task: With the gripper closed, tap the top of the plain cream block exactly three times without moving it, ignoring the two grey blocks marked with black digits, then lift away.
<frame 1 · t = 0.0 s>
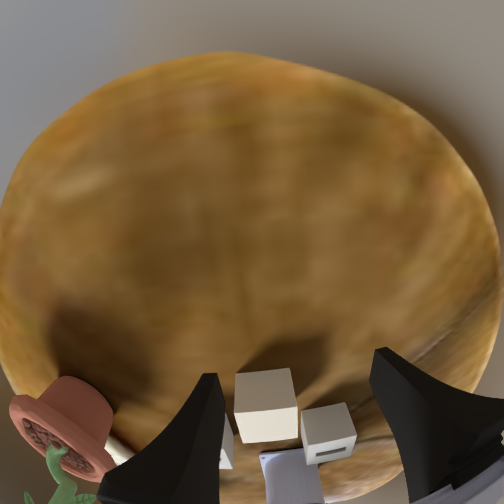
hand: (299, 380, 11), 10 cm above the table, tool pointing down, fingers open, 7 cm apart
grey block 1: (322, 418, 26), on the table
grey block 7: (208, 425, 26), on the table
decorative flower: (87, 395, 25), on the table
cream block: (265, 388, 24), on the table
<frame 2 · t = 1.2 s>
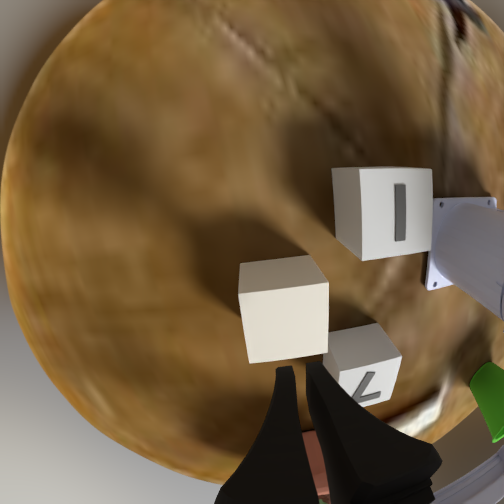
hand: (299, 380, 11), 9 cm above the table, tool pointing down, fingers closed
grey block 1: (365, 201, 18), on the table
grey block 7: (349, 350, 22), on the table
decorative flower: (304, 442, 27), on the table
cream block: (278, 290, 20), on the table
cup: (480, 374, 26), on the table
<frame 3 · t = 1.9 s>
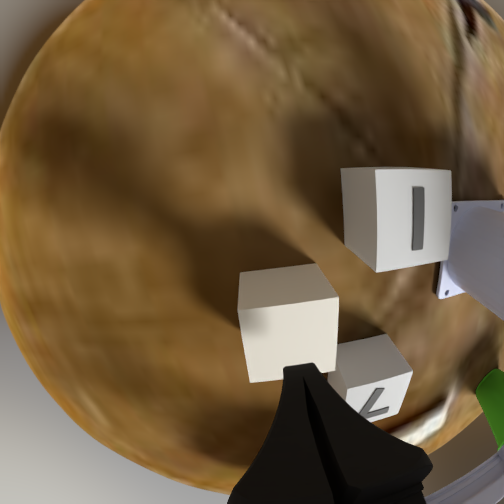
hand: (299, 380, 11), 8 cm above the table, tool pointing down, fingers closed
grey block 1: (376, 204, 16), on the table
grey block 7: (356, 362, 20), on the table
cream block: (281, 301, 18), on the table
cup: (486, 380, 24), on the table
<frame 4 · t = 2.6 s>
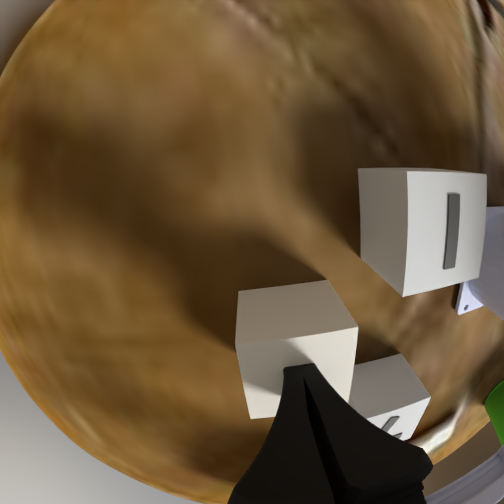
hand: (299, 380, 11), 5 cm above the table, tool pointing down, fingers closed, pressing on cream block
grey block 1: (397, 211, 14), on the table
grey block 7: (366, 383, 18), on the table
cream block: (286, 322, 16), on the table, touching gripper
cup: (495, 391, 21), on the table
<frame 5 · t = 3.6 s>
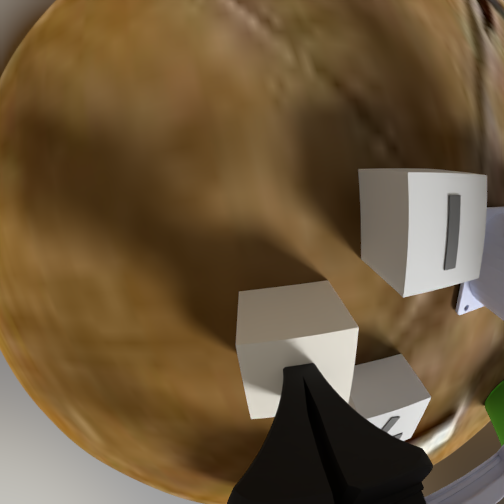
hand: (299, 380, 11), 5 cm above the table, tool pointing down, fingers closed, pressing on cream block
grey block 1: (397, 211, 14), on the table
grey block 7: (367, 383, 18), on the table
cream block: (286, 323, 16), on the table, touching gripper
cup: (495, 391, 21), on the table
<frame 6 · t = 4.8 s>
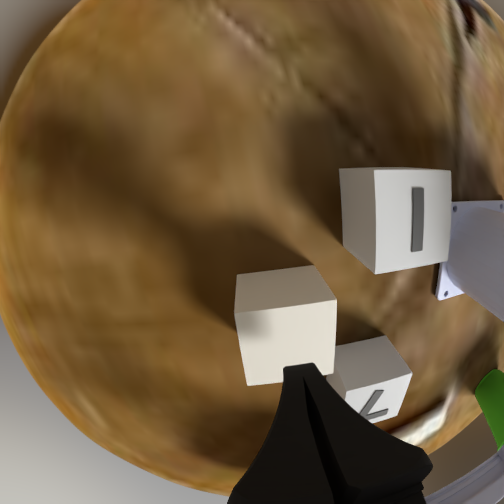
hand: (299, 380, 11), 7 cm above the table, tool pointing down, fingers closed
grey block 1: (375, 205, 16), on the table
grey block 7: (354, 363, 20), on the table
cream block: (278, 303, 18), on the table
cup: (485, 381, 24), on the table
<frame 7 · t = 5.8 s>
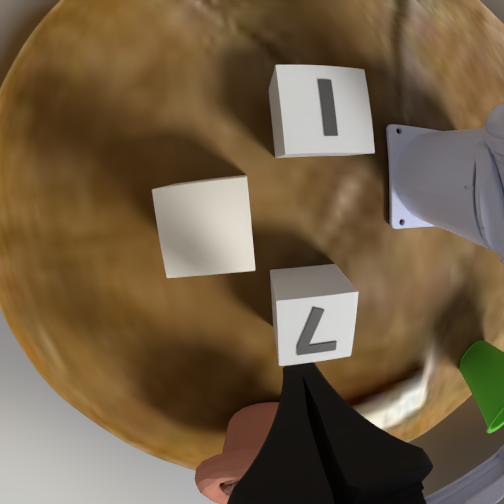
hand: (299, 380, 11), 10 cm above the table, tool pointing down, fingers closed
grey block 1: (307, 121, 17), on the table
grey block 7: (303, 296, 21), on the table
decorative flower: (264, 417, 25), on the table
cream block: (214, 214, 19), on the table
cup: (471, 354, 25), on the table
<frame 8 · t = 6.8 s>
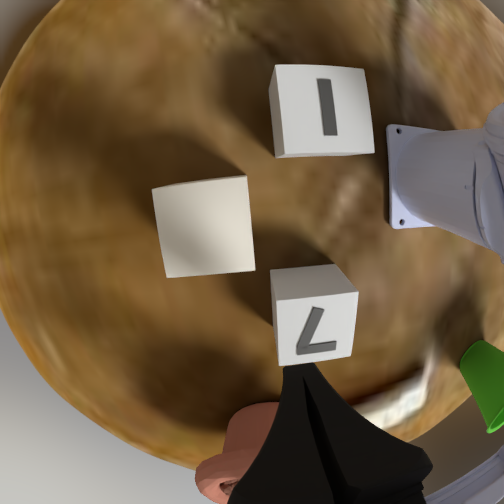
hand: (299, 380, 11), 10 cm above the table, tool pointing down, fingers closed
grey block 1: (307, 121, 17), on the table
grey block 7: (303, 296, 21), on the table
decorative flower: (264, 417, 25), on the table
cream block: (214, 214, 19), on the table
cup: (471, 354, 25), on the table
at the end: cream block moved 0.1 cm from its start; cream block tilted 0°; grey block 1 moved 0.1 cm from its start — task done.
